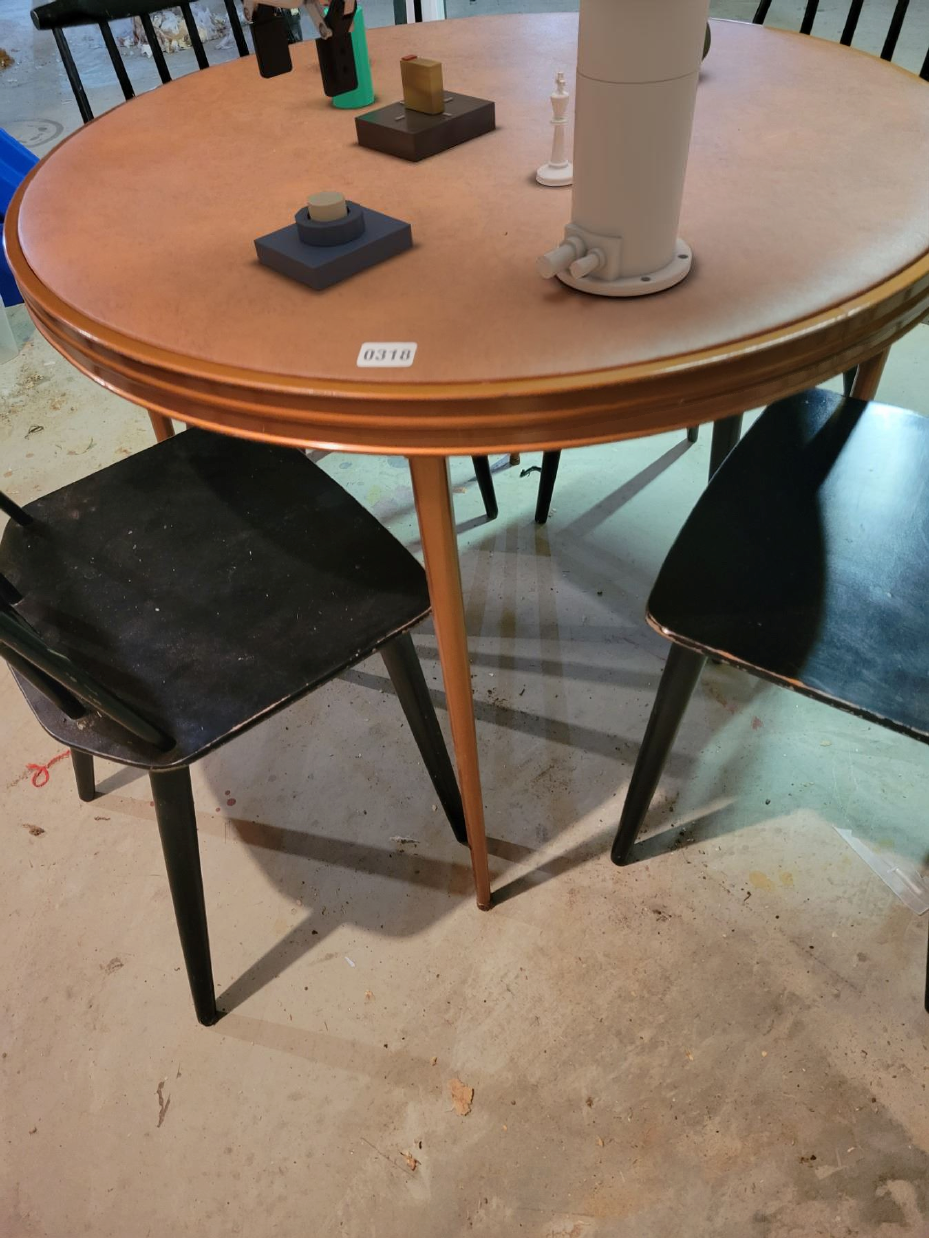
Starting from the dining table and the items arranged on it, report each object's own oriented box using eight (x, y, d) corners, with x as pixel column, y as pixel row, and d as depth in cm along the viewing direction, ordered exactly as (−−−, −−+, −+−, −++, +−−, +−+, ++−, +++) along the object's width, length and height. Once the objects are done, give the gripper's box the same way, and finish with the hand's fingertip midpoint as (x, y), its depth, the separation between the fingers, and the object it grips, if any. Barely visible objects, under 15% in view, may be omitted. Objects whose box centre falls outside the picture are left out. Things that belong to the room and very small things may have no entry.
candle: (380, 95, 112) (367, -10, 103) (366, 109, 108) (350, 1, 99) (342, 95, 113) (325, -9, 104) (326, 108, 109) (308, 2, 100)
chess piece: (545, 189, 85) (546, 82, 77) (530, 174, 88) (529, 70, 81) (586, 181, 86) (592, 74, 78) (570, 167, 89) (574, 63, 81)
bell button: (325, 228, 73) (321, 208, 72) (303, 219, 75) (299, 199, 74) (355, 215, 75) (351, 196, 73) (332, 206, 76) (328, 187, 75)
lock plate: (415, 162, 93) (412, 132, 91) (358, 144, 99) (353, 116, 96) (495, 128, 99) (494, 100, 97) (437, 113, 105) (435, 86, 102)
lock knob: (445, 110, 96) (441, 60, 92) (433, 115, 95) (429, 64, 91) (416, 103, 98) (411, 53, 94) (404, 107, 98) (399, 58, 94)
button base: (318, 291, 72) (309, 248, 69) (259, 262, 77) (247, 221, 74) (413, 246, 77) (408, 204, 74) (351, 222, 83) (344, 181, 80)
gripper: (150, -193, 57) (220, 79, 70) (280, -199, 48) (333, 113, 61) (236, -204, 60) (288, 58, 73) (372, -211, 52) (404, 88, 64)
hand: (308, 83), depth 67 cm, fingers open, 9 cm apart
